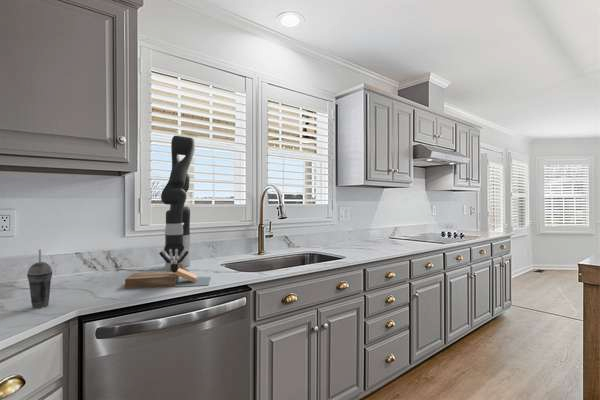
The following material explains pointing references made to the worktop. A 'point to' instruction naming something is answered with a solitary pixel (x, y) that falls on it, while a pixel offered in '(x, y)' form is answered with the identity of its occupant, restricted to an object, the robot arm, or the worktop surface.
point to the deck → (151, 280)
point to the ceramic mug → (168, 265)
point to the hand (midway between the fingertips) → (174, 272)
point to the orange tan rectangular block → (186, 275)
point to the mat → (198, 282)
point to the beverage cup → (39, 283)
